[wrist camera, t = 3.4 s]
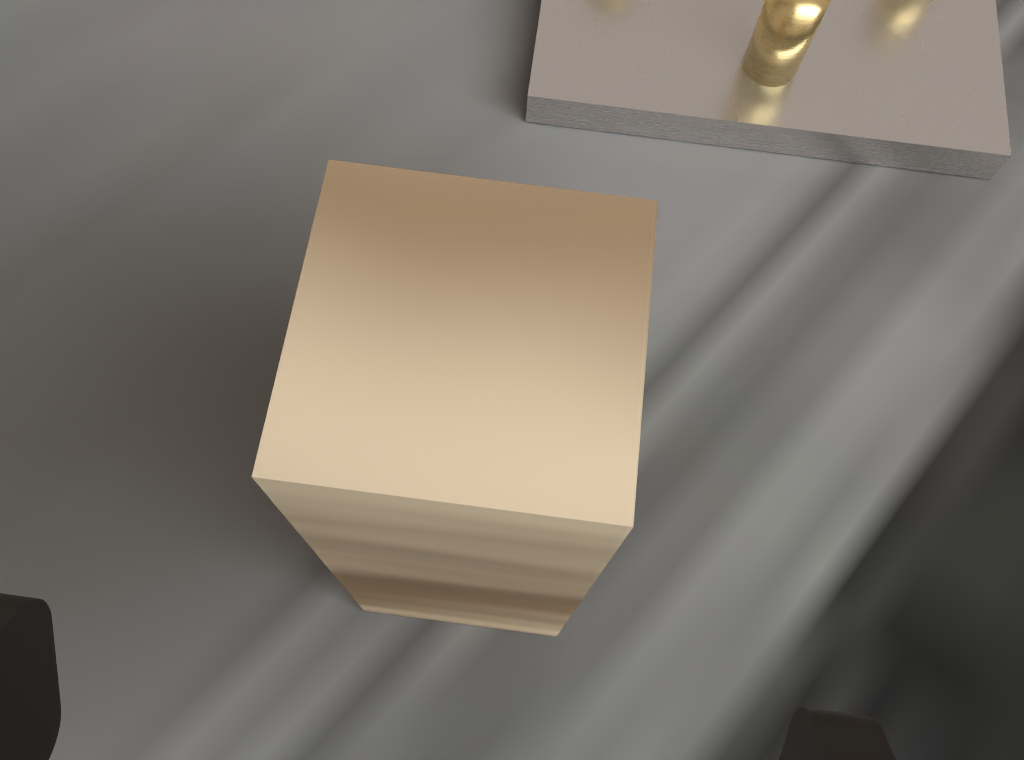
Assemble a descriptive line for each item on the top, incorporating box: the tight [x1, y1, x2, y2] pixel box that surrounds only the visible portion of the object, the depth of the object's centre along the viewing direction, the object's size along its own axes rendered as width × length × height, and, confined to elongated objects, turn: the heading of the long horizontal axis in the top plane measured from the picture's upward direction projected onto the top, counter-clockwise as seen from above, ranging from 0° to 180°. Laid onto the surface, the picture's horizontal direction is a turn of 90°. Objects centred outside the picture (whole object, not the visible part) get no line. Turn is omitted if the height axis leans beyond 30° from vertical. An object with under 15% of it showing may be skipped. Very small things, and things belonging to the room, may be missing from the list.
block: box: [252, 160, 658, 636], centre depth 15 cm, size 4×4×10 cm
